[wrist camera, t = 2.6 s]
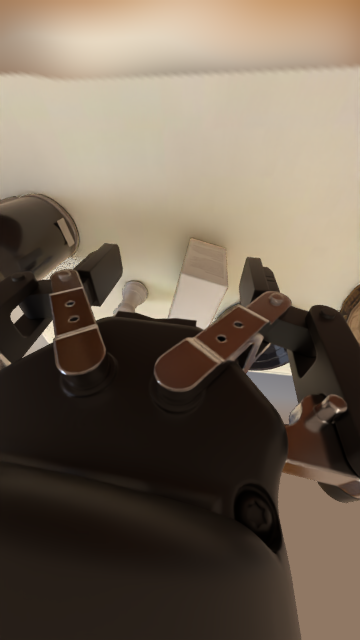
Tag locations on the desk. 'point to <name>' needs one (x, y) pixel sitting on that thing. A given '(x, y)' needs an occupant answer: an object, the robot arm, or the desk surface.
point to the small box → (200, 283)
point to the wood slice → (353, 312)
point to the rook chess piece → (132, 297)
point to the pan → (267, 354)
